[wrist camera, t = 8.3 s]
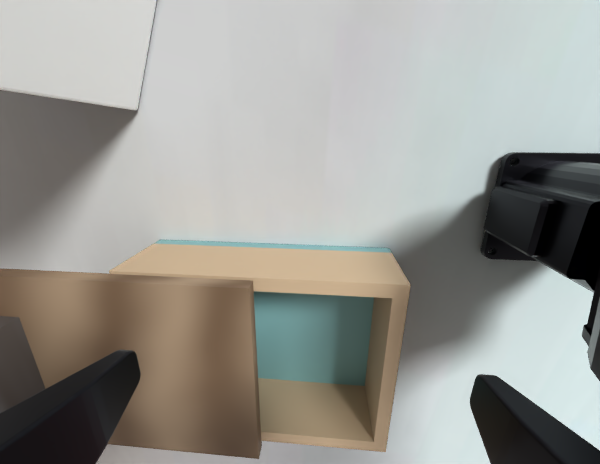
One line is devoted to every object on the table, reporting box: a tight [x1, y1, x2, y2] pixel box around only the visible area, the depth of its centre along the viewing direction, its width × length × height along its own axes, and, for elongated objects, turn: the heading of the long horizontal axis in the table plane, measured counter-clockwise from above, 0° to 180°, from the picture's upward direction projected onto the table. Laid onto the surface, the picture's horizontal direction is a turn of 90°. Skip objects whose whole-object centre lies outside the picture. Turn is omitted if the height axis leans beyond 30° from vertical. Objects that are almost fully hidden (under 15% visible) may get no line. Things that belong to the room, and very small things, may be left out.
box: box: [109, 240, 411, 452], centre depth 19 cm, size 16×12×5 cm
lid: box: [0, 269, 262, 459], centre depth 14 cm, size 16×12×5 cm
